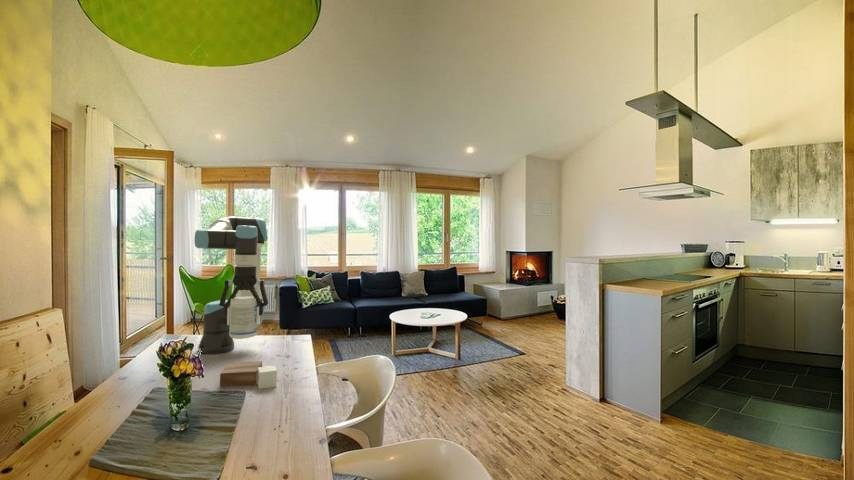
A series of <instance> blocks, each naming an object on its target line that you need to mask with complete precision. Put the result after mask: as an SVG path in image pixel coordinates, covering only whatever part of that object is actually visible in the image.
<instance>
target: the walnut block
mask: <svg viewBox="0 0 854 480" xmlns="http://www.w3.org/2000/svg"><path fill="white" fill-rule="evenodd" d="M258 367H263V361H239V362H235V361H234V362H228V364H227V365H226V366H225V367H224V368H223V369H222V371H221V372H220V374H219V388H229V387H246V386H247V387H248V386H256V385H257V384H258V383H257V382H258Z"/></svg>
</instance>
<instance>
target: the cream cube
mask: <svg viewBox="0 0 854 480" xmlns="http://www.w3.org/2000/svg"><path fill="white" fill-rule="evenodd" d="M277 380H278V370H277V366H276V365H266V366H262V367H258V381H257V383H256V384H257V387H258V389H259V390H260V389H266V388H273V387H277V384H278V383H277Z"/></svg>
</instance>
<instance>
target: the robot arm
mask: <svg viewBox="0 0 854 480" xmlns="http://www.w3.org/2000/svg"><path fill="white" fill-rule="evenodd" d="M193 240H194V246H195V248H196V249H203V250H211V249H213V250H215V249H216V250H234V251H235V252H234V254H235V255H234V265H235V266H234V271H233V272H234V277H233V279H226V280H225V281H224V288H223V291H222V294H221V298H220V300H215V301H210V302H208V303H206V304H205V305H204V307H203V313H202V314H203V325H202V328H203V330H202V336H201V339H200V341H199V344H198V348H197V351H199V349H201V351H202V353H201V354H205V355H212V354H220V353H221V354H222V353H225V352H226V353H227V352H230V351H232V350H233V349H235V341H234V338H231V337H230V335H229V334H230V333H229V332H230V302H231V299H233V298H235V297H237V294H238V293H239V291H240V293H239V296H238V297H244V296H251V297H254V298H256V302H257V304H258V307H257V317H256V325H257V326H260V325H262V323H263V320H264V314H265V309H266V306H268V304H269V299H268V295H267V291H266V288H265V283H266V282H265V280H264V279H262V280H261V258H262V257H261V255H262V254H261V253H262V247H263V246H264V245H265V242H268V231H267V223H266V220H265V219H264V218H261V217H254V216H253V217H249V216H248V217H247V216H227V217H222V218H218V219H216V220H215V221H213V222H212V223H211V224H210V225H209V228H207V229H206V228H203V229H196V230H195V232H194V239H193ZM232 284H234V286H235V288H234V289H233V291H232V293H231V295H229V290H230V289H231V288H230V287H231V286H232ZM260 294H261V295H260ZM228 295H229V298H228V299H227V297H228Z"/></svg>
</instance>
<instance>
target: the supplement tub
mask: <svg viewBox="0 0 854 480" xmlns="http://www.w3.org/2000/svg"><path fill="white" fill-rule="evenodd" d="M257 307H258V304H257V302H256V298H254V297H251V296H244V297H239V296H235V298H233V299H231V302H230V332H229V333H230V334H229V335H230V337H231V338H233V339H235V340H242V339H243V340H244V339H249V338H252V337H253V338H254V337H255V336H256V335H257V334H258V325H256V317H257Z"/></svg>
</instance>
